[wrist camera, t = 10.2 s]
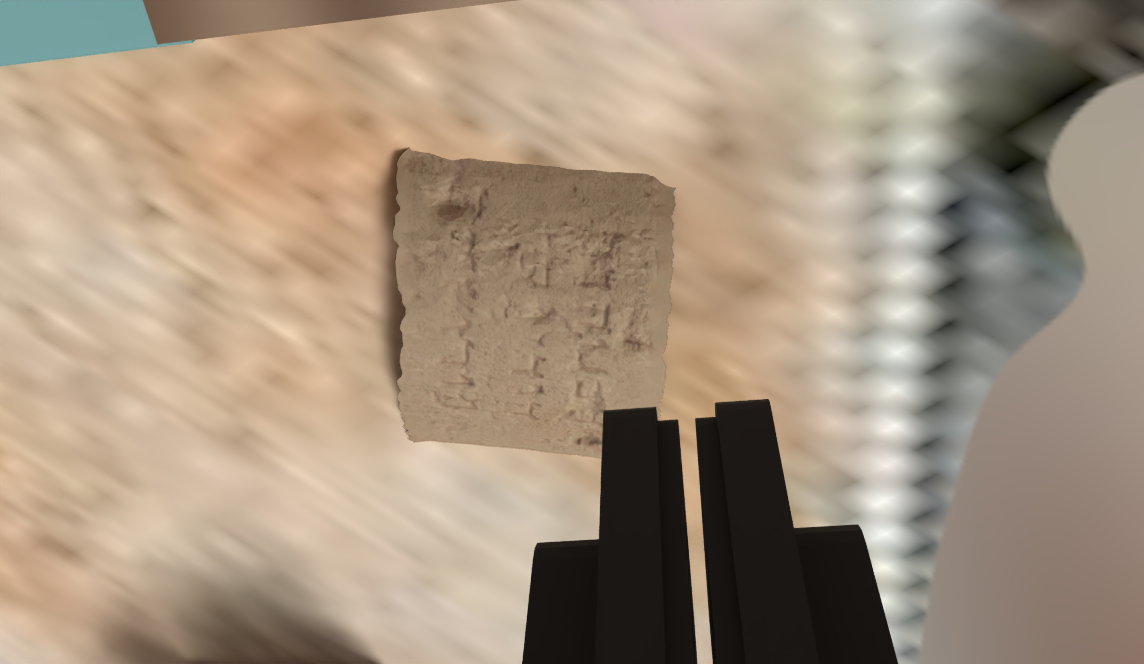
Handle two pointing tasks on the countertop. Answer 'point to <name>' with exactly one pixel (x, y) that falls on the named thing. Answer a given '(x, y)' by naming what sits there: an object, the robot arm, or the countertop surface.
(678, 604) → the robot arm
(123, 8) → the mat
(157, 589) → the countertop surface
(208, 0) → the brown flat block
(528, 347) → the clay tablet
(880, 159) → the countertop surface
